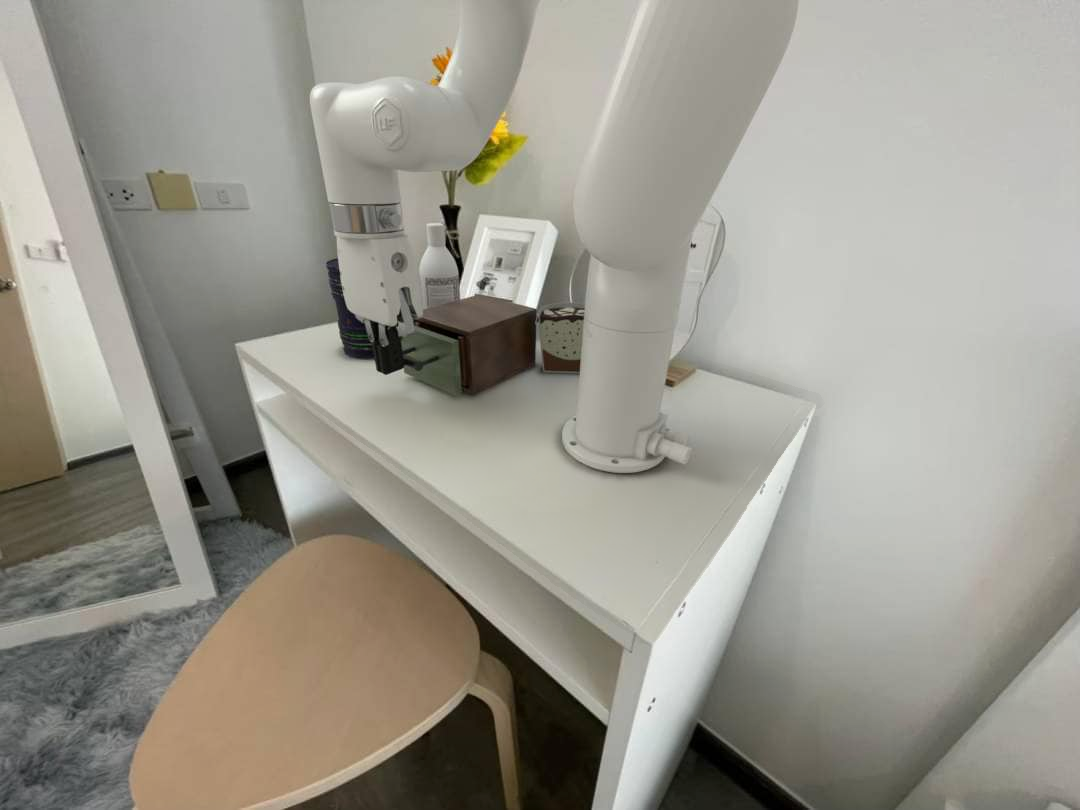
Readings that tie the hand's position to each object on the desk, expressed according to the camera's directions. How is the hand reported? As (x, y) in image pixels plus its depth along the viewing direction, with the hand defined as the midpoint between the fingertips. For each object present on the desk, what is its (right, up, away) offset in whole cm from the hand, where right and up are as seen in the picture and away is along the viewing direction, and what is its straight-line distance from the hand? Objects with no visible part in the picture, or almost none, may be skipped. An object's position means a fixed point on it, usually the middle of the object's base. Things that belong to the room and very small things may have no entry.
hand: (390, 369), depth 58 cm
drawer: (+6, 0, +9) cm, 11 cm away
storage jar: (-10, +5, +20) cm, 23 cm away
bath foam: (+1, +9, +27) cm, 28 cm away
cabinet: (+10, +1, +14) cm, 17 cm away
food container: (+25, +2, +16) cm, 29 cm away
